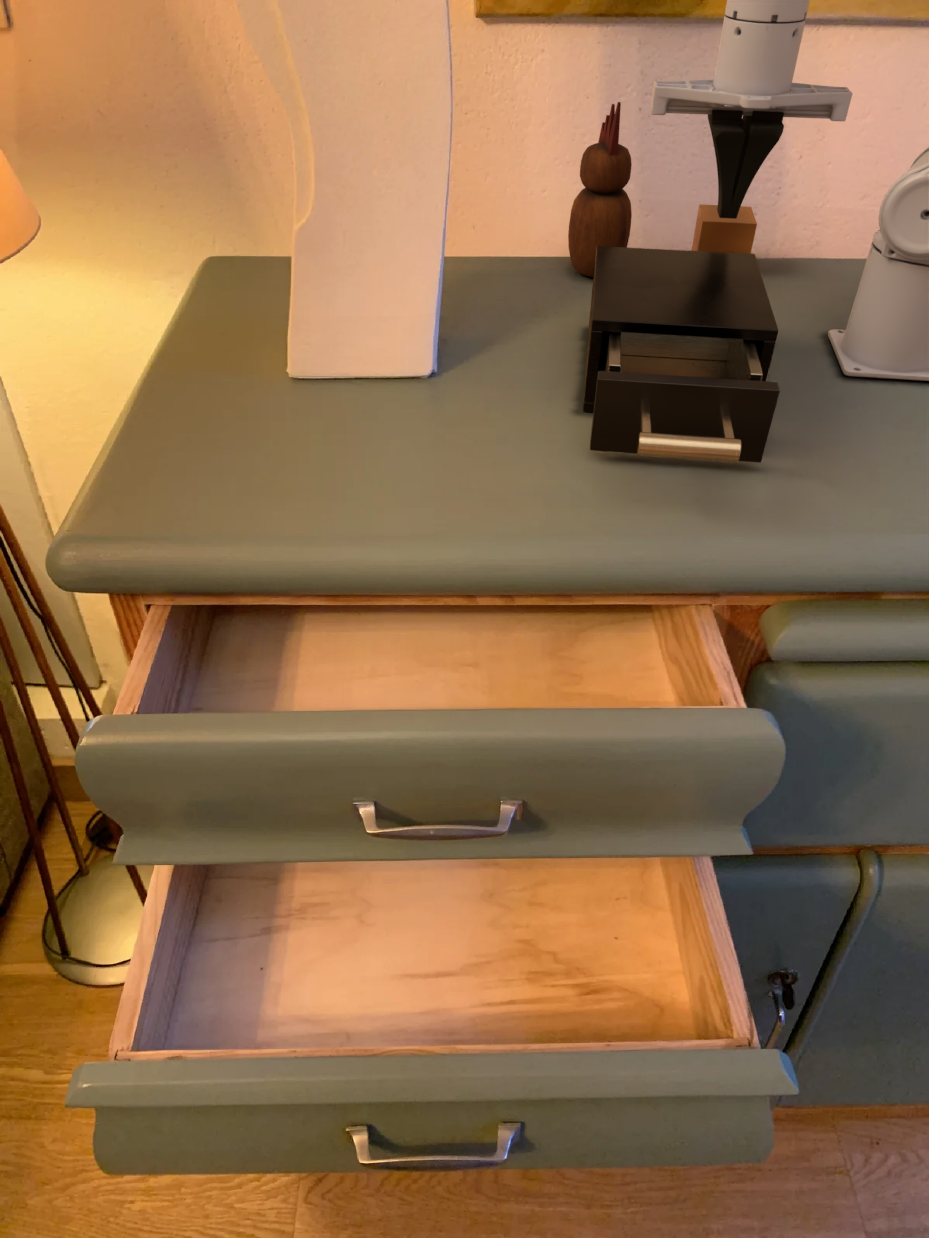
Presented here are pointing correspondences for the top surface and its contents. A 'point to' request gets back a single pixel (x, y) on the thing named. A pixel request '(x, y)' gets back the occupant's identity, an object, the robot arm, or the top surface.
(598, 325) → the dark drawer cabinet
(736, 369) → the black drawer
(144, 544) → the top surface
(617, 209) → the wooden figurine
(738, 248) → the block
